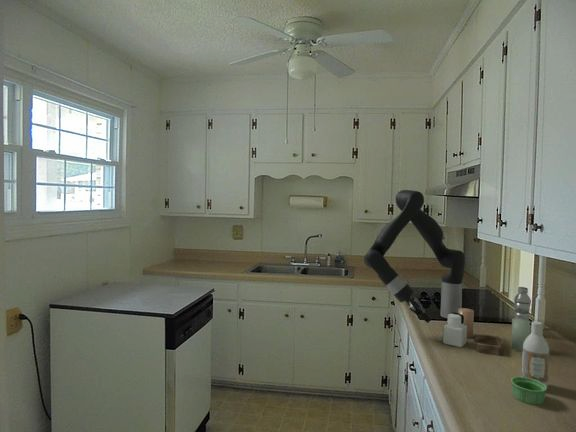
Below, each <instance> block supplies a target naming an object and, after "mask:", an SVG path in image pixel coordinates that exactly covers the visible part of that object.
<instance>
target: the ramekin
mask: <svg viewBox="0 0 576 432" xmlns="http://www.w3.org/2000/svg"><path fill="white" fill-rule="evenodd" d="M510 379H511V380H510V382H511V393H512V396H513V397H514V398H515V399H516V400H518V401H520V402H522V403H524V404H527V405H535V406H536V405H537V406H538V405H542V404H544V403H545V398H546V393H547V391H548V386H547V387H546V386H545V385H544V384H543V383H541V382H540V381H537V380H535V379H531V378H526V377H522V376H514V377H512V378H510Z"/></svg>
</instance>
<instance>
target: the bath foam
mask: <svg viewBox="0 0 576 432" xmlns="http://www.w3.org/2000/svg"><path fill="white" fill-rule="evenodd" d="M543 327H544V324H543V322H540V321H535V320H534V321H531V324H530V331H531V332H530V334H529V336H528V337H527V338H526V339H525V341H524V344H523V351H522V358H521V359H522V360H521V362H522V363H521V377H526V378H531V379H535V380H537V381H540V382H541V383H543V384H544V385H545V386H546V387H547V388H548V382H549V367H550V365H549V362H550V348H549V344H548V342H547V340H546V339H545V338H544V337H545V336H544V335H543Z"/></svg>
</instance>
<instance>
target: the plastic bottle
mask: <svg viewBox="0 0 576 432" xmlns="http://www.w3.org/2000/svg"><path fill="white" fill-rule="evenodd" d="M528 290H529V288H528V287H524V286H519V287H518V289H517V292H518V293H517V294H516V295H515V297H514V298H513V301H514V318H521V319H526V320H528V321H530V309H531V305H532V304H531V303H532V300H531V299H532V298H531V297H530V296H529V294H528V293H529V291H528Z"/></svg>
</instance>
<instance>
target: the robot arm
mask: <svg viewBox="0 0 576 432" xmlns="http://www.w3.org/2000/svg"><path fill="white" fill-rule="evenodd" d="M395 203H396V206H397V208H398V209H399V210H400V211H401V212H400V213H399V214H398V215H397V216H396V217H394V218H393V220H391V221H389V222H388V223H387V224H386V225H385V226H384V227H383V228H382V229H381V230H380V232H379V233H378V235H377V237H376V239H375V240H374V242H373V243H372V245H371V247H370V248H369V249H368V250H367V252H366V254H365V255H364V257H363V262H364V265H365V266H367V267H368V268H370V269H372V270H373V271H374V272H375V273H376V274H377V277H378V278H379V279H380V281H381V282H382V283H383V284H384V285H385V286H386V288H387V289H388V290H389V292H390V293H391V294H392V295H393V296H394V297H395V298H396V299H397V300H398V302H399V303H404V302H405V303H406V304H407V305H406V306H407V307H408V308H409V310H410V311H411V312H413V314H415V315H417V316H418V317H421V318H422V319H423V320H424V321H425V323H427V324H429V323H430V322H431V321H432V318H431V317H430V316H429V315H428V313H426V311H425V308H424V306H423V305H422V304H421V303H420V301H419V299H418V298H416V297H414V296H413V294H414V292H415V290H414V289H413V288H412V287H411V286H410V285H409V284H408V283H407V281H406V280H405V279H404V278H403V277H401V276H400V275H399V273H398V272H396V270H395V269H394V268H393V267H391V265H390V264H389V261H387V260H386V258H385V255H386V253H387V252H388V251H389V249H390V248H391V247H392V245H393V244H394V242H395V241H396V239H397V238H398V237H399V235H400V234H401V232H402V231H403V229H405V227H406V226H407V225H408V224H409V223H410V222H411V224H412V225H413V226H414V227H415V228H416V230H417V231H418V233H419V234H420V236H421V237H422V239H423V240H424V241H425V242H426V244H427V245H428V246H429V248H430V249H431V251H432V252H433V254H434V256H435V258H436V259H437V261H438V263H439V264H440V265H441V266H442V267H443V268H448V269H450V272H449V273H448V274H443V275H442V276H441V293H440V294H441V295H440V317H442V318H445V319H448V314H449V313H452V312H455V313H458V309H459V308H463V307H462V304H463V303H462V302H463V299H462V298H463V297H462V293H463V292H462V291H463V290H462V288H463V279H464V275H465V267H466V265H465V264H466V263H465V262H466V257H465V254H464V252H463V251H462V250H458V249H451V248H448V247H446V245H445V244H444V242H443V240H444V231H443V229H442V228H441V226H440V225H439V224H438V222H437V221H436V219H434V218H433V217H432V216H431V215H429V214H428V213H426V212H425V211H423V210H422V208H423V207H424V203H425V196H424V195H423V193H422V192H421V191H417V190H412V189H411V190H410V189H402V190H400V191H398V192H397V193H396V195H395Z"/></svg>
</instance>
